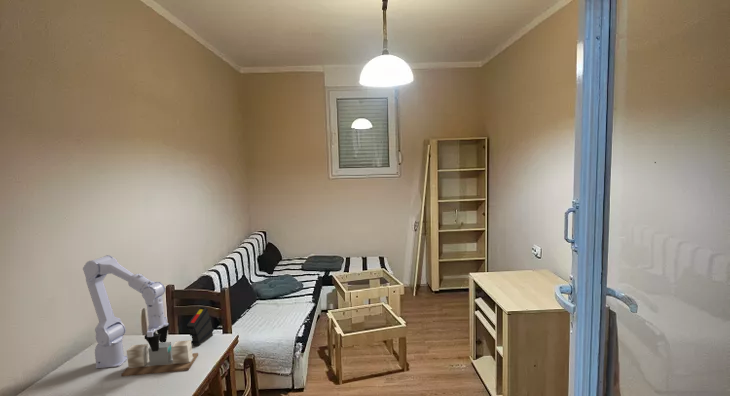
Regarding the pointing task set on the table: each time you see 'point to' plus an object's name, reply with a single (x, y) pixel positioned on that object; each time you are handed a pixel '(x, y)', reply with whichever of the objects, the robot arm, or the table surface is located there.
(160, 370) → the board
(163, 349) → the block
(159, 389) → the table surface
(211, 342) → the table surface
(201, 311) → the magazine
